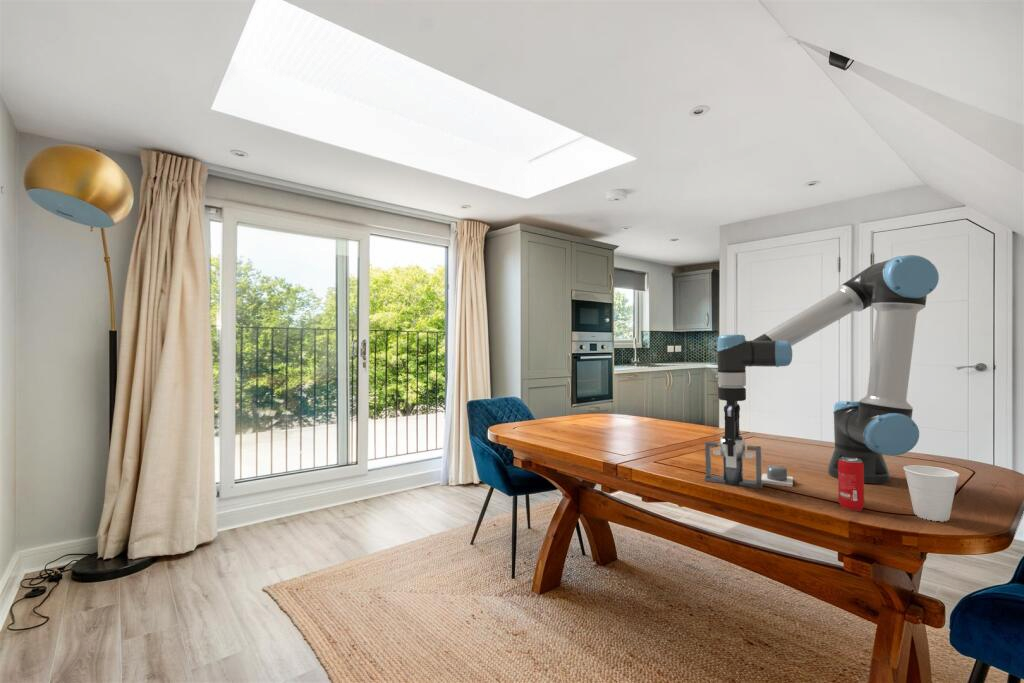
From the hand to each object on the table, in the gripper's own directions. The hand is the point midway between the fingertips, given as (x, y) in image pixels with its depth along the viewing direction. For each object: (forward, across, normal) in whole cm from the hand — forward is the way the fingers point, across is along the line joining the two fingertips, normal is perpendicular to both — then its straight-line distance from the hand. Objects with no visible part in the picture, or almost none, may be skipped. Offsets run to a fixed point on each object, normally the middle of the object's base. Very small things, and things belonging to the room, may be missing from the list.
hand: (732, 463), depth 138 cm
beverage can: (+6, +8, +28) cm, 30 cm away
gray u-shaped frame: (+6, 0, 0) cm, 6 cm away
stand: (+6, -8, +11) cm, 15 cm away
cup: (+6, +7, +43) cm, 44 cm away
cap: (-2, 0, 0) cm, 2 cm away
